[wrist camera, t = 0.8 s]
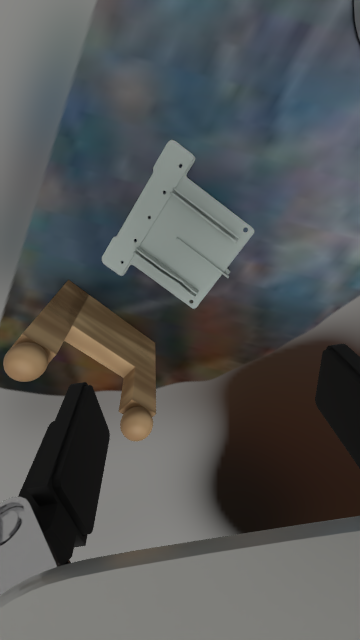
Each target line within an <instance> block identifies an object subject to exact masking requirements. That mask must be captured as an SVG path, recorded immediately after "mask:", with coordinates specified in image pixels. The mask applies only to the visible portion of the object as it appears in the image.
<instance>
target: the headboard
mask: <svg viewBox="0 0 360 640" xmlns="http://www.w3.org/2000/svg"><path fill="white" fill-rule="evenodd" d="M63 341H66V342H68V343H69V344H71V345H72V346H74V347H75V348H77V349H79V350H80V351H82V352H83V353H85V354H87V355H88V356H90V357H91V358H93V359H95V360H96V361H98V362H99V363H101V364H103V365H104V366H106V367H107V368H109V369H110V370H112V371H114V372H115V373H117V374H118V375H120V376H122V377H123V378H124V380H123V387H122V394H121V400H120V407H119V412H120V413H122V414H124V415H123V416H122V419H121V424H120V426H121V431H122V433H123V435H124V436H125V437H126V438H127V439H129V440H131V441H140V440H143V439H145V438H146V437H147V436H148V435H149V434H150V432H151V430H152V427H153V419H152V417H153V416H154V415H155V414H156V376H155V343H154V342H153V341H152V340H150V339H149V338H148V337H146V336H145V335H143V334H142V333H141V332H139V331H138V330H137V329H135V328H134V327H132V326H131V325H130V324H128V323H127V322H126V321H124V320H123V319H122V318H120V317H119V316H117V315H116V314H115V313H113V312H112V311H111V310H109V309H108V308H107V307H105V306H104V305H102V304H101V303H100V302H98V301H97V300H96V299H94V298H93V297H91V296H90V295H89V294H87V293H86V292H85V291H83V290H82V289H81V288H79V287H78V286H76V285H75V284H74V283H72V282H71V281H70V280H68V281H67V282H66V283H65V284H64V286H63V287H62V288H61V289H60V290H59V291H58V293H57V294H56V295H55V296H54V297H53V299H52V300H51V301H50V302H49V303H48V304H47V306H46V307H45V308H44V309H43V310H42V311H41V313H40V314H39V315H38V316H37V317H36V319H35V320H34V321H33V322H32V323H31V324H30V326H29V327H28V328H27V329H26V330H25V331H24V333H23V334H22V335H21V336H20V338H19V339H18V340H17V341H16V343H15V344H14V345H13V346H12V347H11V349H10V350H9V351H8V352H7V354H6V355H5V358H4V362H3V365H4V369H5V372H6V373H7V374H8V376H10V377H11V378H12V379H14V380H17V381H23V382H26V381H31V380H34V379H36V378H38V377H39V376H41V375H42V374H43V373H44V371H45V370H46V368H47V365H48V363H49V362H50V361H51V360H52V359H53V358H54V356H55V355H56V354H57V352H58V350H59V349H60V347H61V345H62V343H63Z"/></svg>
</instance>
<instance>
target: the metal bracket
mask: <svg viewBox="0 0 360 640" xmlns="http://www.w3.org/2000/svg"><path fill="white" fill-rule="evenodd" d="M194 162H195V157H194V156H193V154H191V153H190V152H189V151H187V150H186V149H185V148H184V147H182V146H181V145H180V144H178V143H177V142H176V141H174V140H171V141H169V142H168V143H167V144H166V146H165V148H164V150H163V151H162V153H161V155H160V157H159V158H158V160H157V162H156V164H155V165H154V167H153V174H152V176H151V177H150V179H149V181H148V183H147V184H146V186H145V188H144V190H143V191H142V193H141V195H140V196H139V198H138V200H137V202H136V203H135V205H134V207H133V209H132V210H131V212H130V214H129V216H128V217H127V219H126V221H125V223H124V224H123V226H122V228H121V230H120V231H119V233H118V235H117V236H116V237H113V239H112V240H111V242H110V244H109V246H108V247H107V249H106V251H105V253H104V254H103V256H102V262H103V263H104V264H105V265H106V266H107V267H109V268H110V269H112V270H113V271H114V272H116V273H117V274H118V275H121V276H123V275H124V274H125V273H126V271H127V270H128V268H129V266H130V265H134V266H135V267H137V268H138V269H139V270H141V271H142V272H143V273H145V274H146V275H148V276H149V277H150V278H152V279H153V280H154V281H156V282H157V283H159V284H160V285H161V286H163V287H164V288H165V289H167V290H168V291H169V292H171V293H172V294H174V295H175V296H176V297H178V298H179V299H180V300H182V301H183V302H185V303H186V304H187V305H189V306H190V307H191V308H193V309H195V308H196V307H197V306H198V305H199V303H200V302H201V301H202V300H203V298H204V297H205V296H206V294H207V293H208V292H209V290H210V289H211V288H212V287H213V285H214V284H215V283H216V281H217V280H218V279H219V278H220V276H221V275H222V274H223V275H224V276H226V277H227V278H229V276H228V274H229V273H230V270H228V269H227V267H228V266H229V265H230V263H231V262H232V261H233V259H234V258H235V257H236V256H237V254H238V253H239V252H240V250H241V249H242V248H243V246H244V245H245V244H246V243H247V241H248V240H249V239H250V237H251V236H252V235H253V234H254V229H253V228H252V227H251V226H249V225H248V224H247V223H245V222H244V221H243V220H242V219H240V218H239V217H238V216H236V215H235V214H234V213H232V212H231V211H230V210H229V209H227V208H226V207H225V206H223V205H222V204H221V203H219V202H218V201H217V200H216V199H214V198H213V197H212V196H210V195H209V194H208V193H206V192H205V191H204V190H203V189H201V188H200V187H199V186H197V185H196V184H195V183H194V182H192V181H191V180H190V179H188V178H187V173H188V171H189V170H190V168H191V167H192V165H193V163H194ZM180 164H182V168H179V165H180ZM163 191H166V194H165V195H164V194H163ZM148 216H151V219H148ZM245 227H246V228H248V231H247V232H246V233H245V232H243V229H244V228H245ZM134 239H136V240H137V242H134ZM121 261H123V262H124V263H123V264H122V263H121ZM189 300H193V303H190V302H189Z"/></svg>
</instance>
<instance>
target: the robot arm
mask: <svg viewBox="0 0 360 640" xmlns="http://www.w3.org/2000/svg"><path fill="white" fill-rule="evenodd" d="M354 13H355V24H356V29H357V33H358V37H359V40H360V0H354ZM315 401H316V405H317V407H318V409H319V410H320V412H321V413H322V414H323V416H324V417H325V419H326V420H327V421H328V423H329V424H330V426H331V428H332V429H333V430H334V432H335V433H336V435H337V436H338V438H339V439H340V441H341V442H342V443H343V445H344V446H345V447H346V449H347V451H348V452H349V453H350V455H351V456H352V458H353V459H354V461H355V462H356V464H357V465H358V466H359V468H360V357H359V356H358V355H357V354H356V353H355V352H354V351H352V350H351V349H350V348H349V347H348V346H347V345H345V344H338V345H331V346H328V347H327V349H326V350H324V351H323V354H322V360H321V366H320V372H319V379H318V385H317V391H316V397H315ZM109 436H110V435H109V429H108V426H107V424H106V421H105V419H104V416H103V413H102V411H101V408H100V405H99V403H98V400H97V397H96V395H95V392H94V390H93V387H92V386H91V385H89V386H88V384H87V383H86V382H84V383H77V384H71V385H70V386H69V388H68V391H67V393H66V395H65V398H64V400H63V403H62V405H61V408H60V410H59V413H58V415H57V417H56V419H55V421H53V422H52V423H51V424H50V425H49V427H48V429H47V431H46V434H45V436H44V438H43V440H42V443H41V446H40V448H39V450H38V452H37V454H36V457H35V459H34V461H33V464H32V466H31V468H30V470H29V473H28V475H27V478H26V480H25V482H24V484H23V487H22V489H21V491H20V494H19V496H18V497H12V498H9V499H7V500H4V501H3V502H1V503H0V640H360V516H357V517H350V518H344V519H337V520H330V521H323V522H317V523H310V524H303V525H297V526H290V527H283V528H277V529H271V530H264V531H258V532H251V533H245V534H238V535H231V536H225V537H218V538H212V539H206V540H199V541H193V542H187V543H181V544H174V545H168V546H161V547H155V548H149V549H143V550H136V551H131V552H125V553H120V554H115V555H108V556H103V557H97V558H92V559H87V560H82V561H78V562H74V563H71V562H70V560H69V559H70V558H71V557H72V553H73V549H74V547H79V546H85V544H86V539H87V534H90V533H91V532H92V530H93V527H94V521H95V516H96V510H97V504H98V499H99V493H100V488H101V482H102V477H103V471H104V466H105V460H106V454H107V449H108V444H109Z"/></svg>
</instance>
